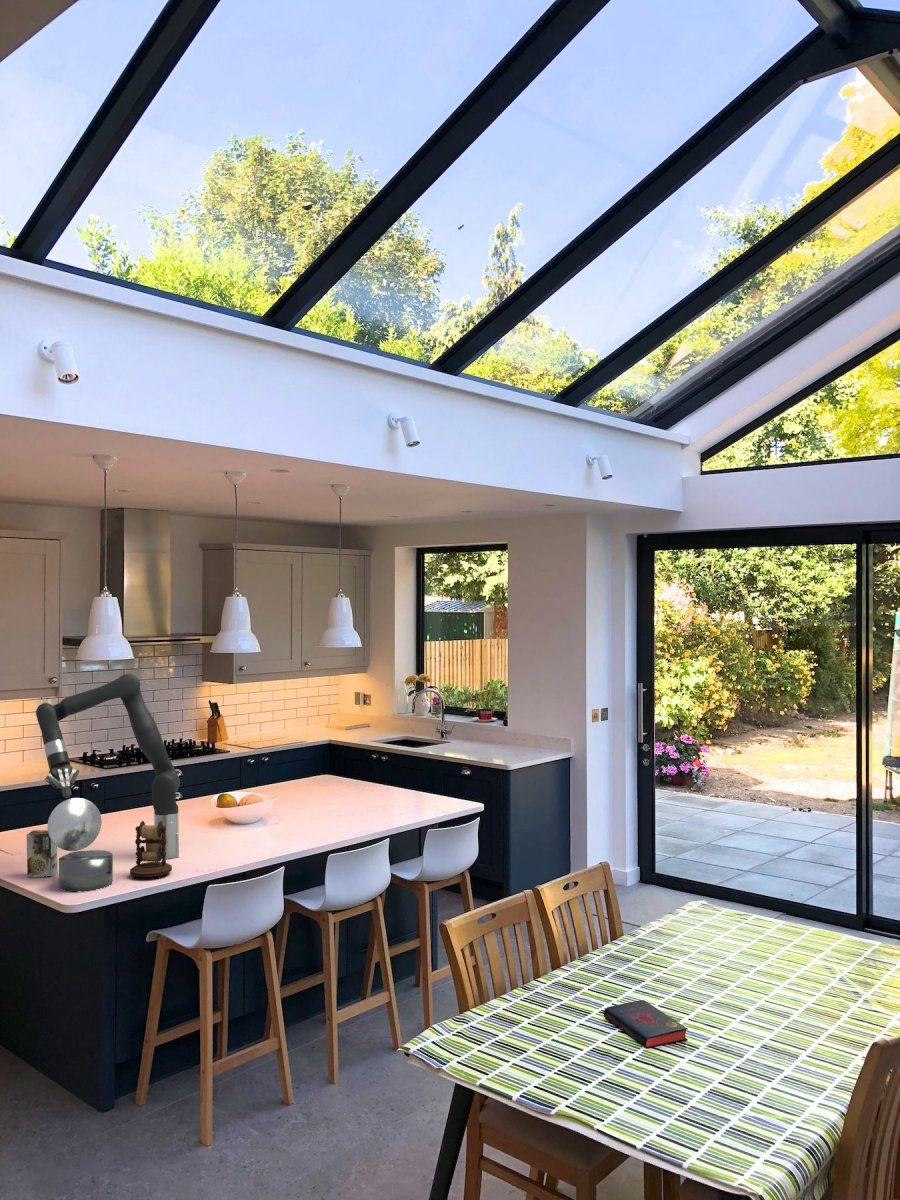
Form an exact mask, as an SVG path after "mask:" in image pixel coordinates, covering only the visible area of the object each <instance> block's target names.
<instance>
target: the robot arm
mask: <svg viewBox="0 0 900 1200" xmlns="http://www.w3.org/2000/svg"><path fill="white" fill-rule="evenodd" d="M119 698H120V699H121V701H122V703H123V705H124V707H125V709H126V712H127V714H128V718H129V722H130V726H131V729H132V731H133V732H132V733H133V734H134V735H133V736H134V738H135V739H136V743H137V745H138V747H139V749H140V750H141V752H142V753H143V754H144V756H145V757H146V758H147V759H148V761H149V762H150V764H151V766H152V769H153V770H154V773H155V778H154V779H153V781H152V786H151V795H152V796H151V797H152V798H151V799H152V800H151V801H152V807H153V814H154V815H153V817H154V819H153V820H154V821H153V823H154V824H153V825H158V823H159V821H162V823H163V826H165V827H166V831H165V832H166V833H165V835H166V838H165V839H166V840H167V842H166V845H165V848H166V850H165V852H166V856H165V857H166V858H165V860H168V859H169V858H170V859H174V858H179V856H180V854H179V853H180V850H179V849H180V846H179V845H180V842H179V841H180V839H179V836H180V835H179V833H180V832H179V805H178V803H177V798H176V797H177V796H176V794H177V791H178V790H179V788H180V786H181V779H180V776H179V774H178V773H177V770H176V769H175V766H174V765H173V763H172V761H171V759H170V757H169V754H168V751H167V749H166V745H165V743H164V741H163V738H162V736H161V732H160V730H159V728H158V727H159V726H158V725H157V723H156V721H155V719H154V717H153V716H152V714H151V712H150V711H149V709H148V707H147V706H146V703H145V701H144V697H143V694H142V691H141V681H140V679H139V678H138V676H136V675H134V674H132V673H125V674H123V675H121V676H119V677H118V678H116V679H115V680H112V681H111V682H108V683H105V684H104V685H101V686H98V687H96V688H93V689H89V690H86V691H82V692H79V693H76V694H72V695H70V696H68V697H65V698H62V699H61V700H60V701H59V702H58V703H56V704H54V705H53V704H51V703H48V702H43V703H40V704H39V705H38V706H37V708H36V711H35V715H36V716H35V717H36V719H37V723H38V726H39V728H40V732H41V737H42V742H43V745H44V752H45V753H44V754H45V757H46V762H47V765H48V768H49V769H48V770H49V771H48V775H47V776H46V777H45V778H44V780H45V782H46V783H48V785H50V786H52V787H53V788H54V789H60V791H61V793H62V797H63V798H65V799H70V797H71V796H72V789H71V786H72V785H74V783H75V782H76V780H77V777H78V776H79V773H80V770H79V769H75V768H73V766H72V765H71V761H70V758H69V753H68V749H67V746H66V744H65V741H64V737H63V734H62V731H61V727H60V726H59V722H60V721H62V720H63V719H66V718H67V717H69V716H72V715H75V714H78V713H80V712H84V711H86V710H89V709H91V708H94V707H95V706H98V705H101V704H102V703H105V702H108V701H112V700H115V699H119ZM71 775H72V777H71V778H70V776H71ZM161 839H162V835H161ZM162 857H163V856H162ZM162 859H163V858H162ZM162 859H161V860H162Z"/></svg>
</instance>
